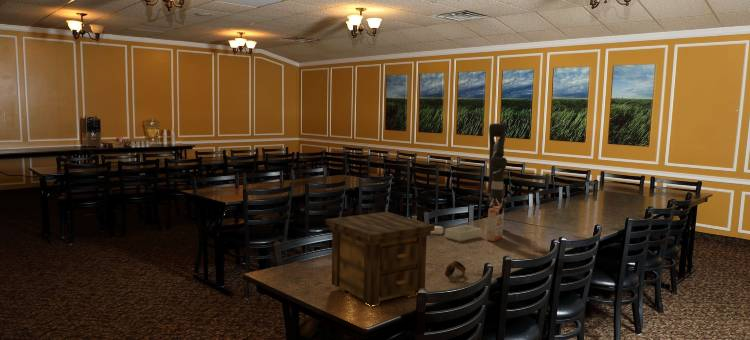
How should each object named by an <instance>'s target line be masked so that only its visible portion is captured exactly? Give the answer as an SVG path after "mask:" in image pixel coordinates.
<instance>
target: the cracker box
mask: <svg viewBox="0 0 750 340" xmlns="http://www.w3.org/2000/svg"><path fill="white" fill-rule="evenodd" d="M499 209H500V208H499V206H495V207H493V208H490V207H489V208H488V210H487V211H488V212H487V224H486V225H487V226H486V227H487V228H486V241H491V242H496V241H498V240H500V239H502V238H503V232H504V230H503V229H504V217H505V215H504V214H505V208H503V213H502V214H499Z"/></svg>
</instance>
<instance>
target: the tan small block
mask: <svg viewBox="0 0 750 340" xmlns="http://www.w3.org/2000/svg"><path fill="white" fill-rule="evenodd" d="M443 233H444V227H443V226H440V225H435V228H434V231H431V235H432V234H433V235H442V234H443Z"/></svg>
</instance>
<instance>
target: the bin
mask: <svg viewBox="0 0 750 340" xmlns="http://www.w3.org/2000/svg"><path fill="white" fill-rule="evenodd" d="M444 235H445V236H444V238H446V239H449V240H451V241H455V242H464V241H469V240H475V239H479V238H481V237H482V236H481V235H482V228H480V227H476V226H472V225H467V224H465V225H460V226H455V227H454V226H453V227H449V228H445V233H444Z"/></svg>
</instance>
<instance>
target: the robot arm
mask: <svg viewBox="0 0 750 340" xmlns="http://www.w3.org/2000/svg"><path fill="white" fill-rule="evenodd" d="M506 129H507V127H506V124H505V123H501V122H500V123H499V122H498V123H496V122H495V123H490V124H489V126H488V133H489V134H488V137H489V156H488V157H489V164H488V165H489V173H488V174H489V177H488V194H489V195H488V196H487V197H486V199H487V200H486V205H487V206H489V209H490V208H493V207H495V206H499V208H500V209H499V214H502V213H503V208H504V209H506V207H507V198H505V192H506V191H505V190H506V186H505V183H504V175H505V170H506V167H507V165H508V160H507V158H506V157H504V155H505V141H506V132H507V130H506ZM495 138H499V139H497V140H496V141H495Z"/></svg>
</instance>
